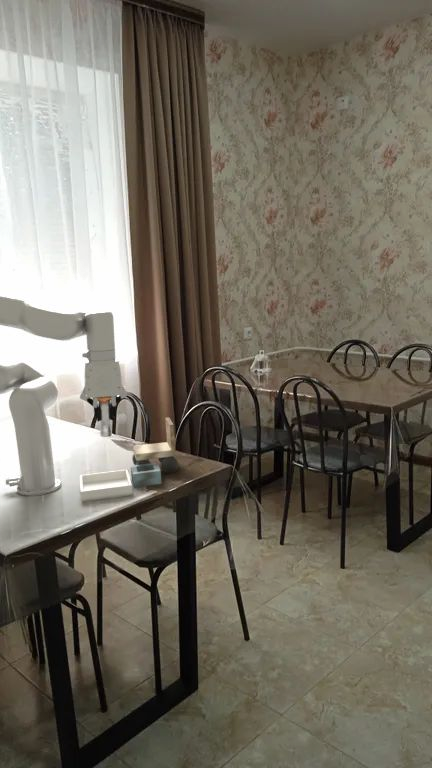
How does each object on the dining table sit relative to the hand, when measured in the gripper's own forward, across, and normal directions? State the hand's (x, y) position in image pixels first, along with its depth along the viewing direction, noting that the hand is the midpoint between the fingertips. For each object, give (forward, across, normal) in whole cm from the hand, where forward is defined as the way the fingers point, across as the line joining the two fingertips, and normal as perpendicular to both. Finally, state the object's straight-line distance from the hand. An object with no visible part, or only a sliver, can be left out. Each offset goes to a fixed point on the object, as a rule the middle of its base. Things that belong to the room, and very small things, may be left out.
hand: (105, 419), depth 179 cm
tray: (+21, -1, -1) cm, 21 cm away
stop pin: (+5, 0, 0) cm, 5 cm away
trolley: (+20, +15, +7) cm, 26 cm away
